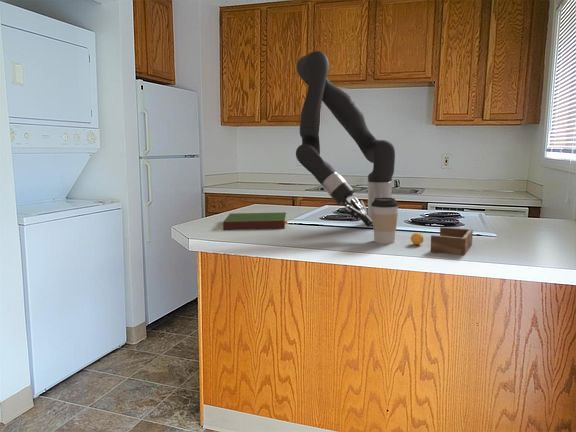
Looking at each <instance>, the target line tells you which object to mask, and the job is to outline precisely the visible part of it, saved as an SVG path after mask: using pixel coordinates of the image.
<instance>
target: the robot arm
mask: <svg viewBox="0 0 576 432" xmlns="http://www.w3.org/2000/svg"><path fill="white" fill-rule="evenodd" d="M296 62H297V63H296V72H297V74H298V76H299V78H300V79H301V80H302V81H303V82H304V83H305V84H306V85H307V92H306V95H305V98H304V102H303V105H302V108H301V110H300V111H301V112H300V116H299V117H300V119H299V136H300V137H301V144H300V145H299V146H297V148H296V150H295V157H296V160H297V161H298V163H300V164H301V166H302V167H303V168H305V169H306V170H307V171H308V172H309V173H311V175H312V176H313V177H314V178H315V179H316V180H317V182H318V183H319V184H320V185H321V186H322V187H323V188H324V190H325V192H326V193H327V194H328V195H329V197H331V198H332V200H334V202H335V203H336V204H337V205H341V204H342V205H343V206H344V210H343V211H344V212H345V213H347V214H349V216H352V217H353V218H355V220H358V219H359V220H361V221H362V222H363V224H364V225H366V227H367V228H369V227H371V226H372V225H373V220H372V206H371V205H372V202H373V201H374V199H375V197H376V198H393V197H392V193H393V192H392V190H393V189H392V187H393V186H392V184H393V183H392V182H393V181H392V180H393V176H394V174H395V165H396V163H395V161H396V152H395V151H396V150H395V145H394V144H393V143H392V142H391V141H389V140H385V139H378V138H377V137H376V136H374V134H373V133H372V132H371V131H370V129H369V128H368V125H367V123H366V121H365V116H364V113H363V111H362V109H361V107H360V106H359V105H358V104H357V102H356V101H355V100H354V98H352V96H351V95H350V94H348V93H347V92H345V91H344V90H343V89H341V88H340V87H338V86H336V85H334V84H333V83H332V82H331V81H330V80H329V79H328V74H329V73H328V72H329V67H330V66H329V65H330V64H329V59H328V56H327V55H326V54H325V53H324V52H323V51H321V50H314V51H311V52H309V53H307V54H305V55H303V56H301V57H300V58H299V59H298V60H297V61H296ZM322 103H323V104H324V105H325V106H326V107H327V109H328V110H329V111H330V112H331V114H332V116H333V117H334V118H335V119H336V120H337V121H338V123H339V124H340V125H341V127H343V129H344V130H345V131H346V132H347V133H348V135H349V136H350V137H351V139H353V140H354V141H353V142H355V143H356V145H357V146H358V147H359V149H360V151H361V153H362V155H363V156H364V158H365V159H366V160H367V161H368V162H369V163H371V164H373V166H372V167H373V168H372V171H371V172H370V173H369V174H368V175H367V207H366V204H365V203H364V201H363V200H360V201H359V199H358V198H357V197H355V196H354V192H355V189H354V188H353V187H352V186H351V185H350V184H349V183H348V182H347V180H346V179H345V178H344V177H343V176H342V175H341V174H340V173H338V172H337V170H335V168H334V167H333V166H332V165H331V164H330V163H329V162H328V161H326V160H324V159H323V157H322V156H321V146H320V136H319V135H320V124H321V123H320V120H321V109H322Z"/></svg>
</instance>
